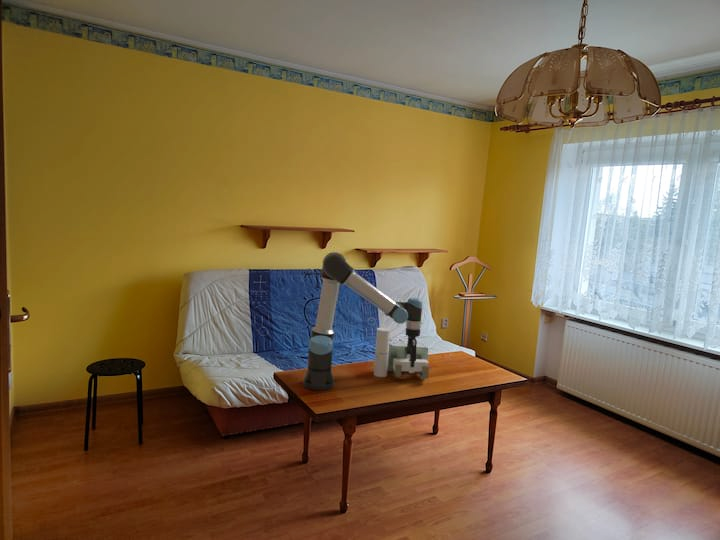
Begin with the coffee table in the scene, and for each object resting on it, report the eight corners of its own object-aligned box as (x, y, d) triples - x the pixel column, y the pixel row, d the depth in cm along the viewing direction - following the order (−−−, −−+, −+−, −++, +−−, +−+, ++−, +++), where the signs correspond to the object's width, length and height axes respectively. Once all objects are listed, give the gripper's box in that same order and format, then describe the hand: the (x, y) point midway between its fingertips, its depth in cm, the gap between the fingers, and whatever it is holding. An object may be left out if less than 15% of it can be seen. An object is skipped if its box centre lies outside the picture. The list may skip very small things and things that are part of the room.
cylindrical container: (386, 377, 245) (389, 331, 242) (372, 376, 246) (375, 330, 243) (387, 373, 252) (391, 328, 249) (375, 371, 253) (378, 327, 250)
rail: (394, 370, 242) (394, 361, 241) (392, 367, 246) (393, 358, 246) (428, 371, 243) (428, 362, 243) (426, 368, 248) (426, 359, 248)
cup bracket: (389, 382, 239) (391, 355, 237) (386, 370, 257) (388, 345, 255) (432, 384, 239) (434, 357, 238) (425, 371, 258) (427, 347, 256)
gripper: (424, 333, 231) (420, 377, 234) (416, 323, 253) (413, 362, 256) (409, 333, 231) (405, 376, 234) (403, 322, 253) (400, 362, 256)
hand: (410, 369), depth 245 cm, fingers open, 10 cm apart
